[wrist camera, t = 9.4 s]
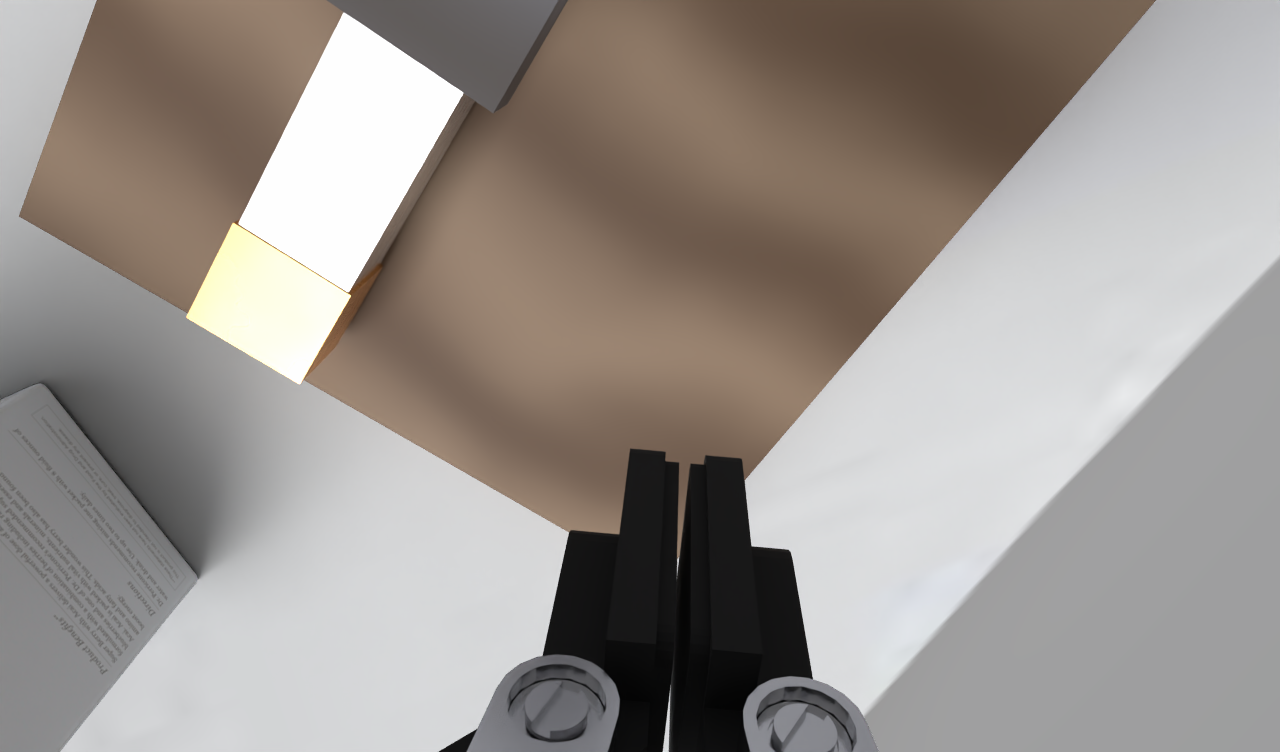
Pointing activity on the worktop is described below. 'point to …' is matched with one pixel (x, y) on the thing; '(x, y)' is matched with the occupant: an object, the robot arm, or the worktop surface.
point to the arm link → (329, 202)
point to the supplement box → (70, 574)
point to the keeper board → (586, 201)
